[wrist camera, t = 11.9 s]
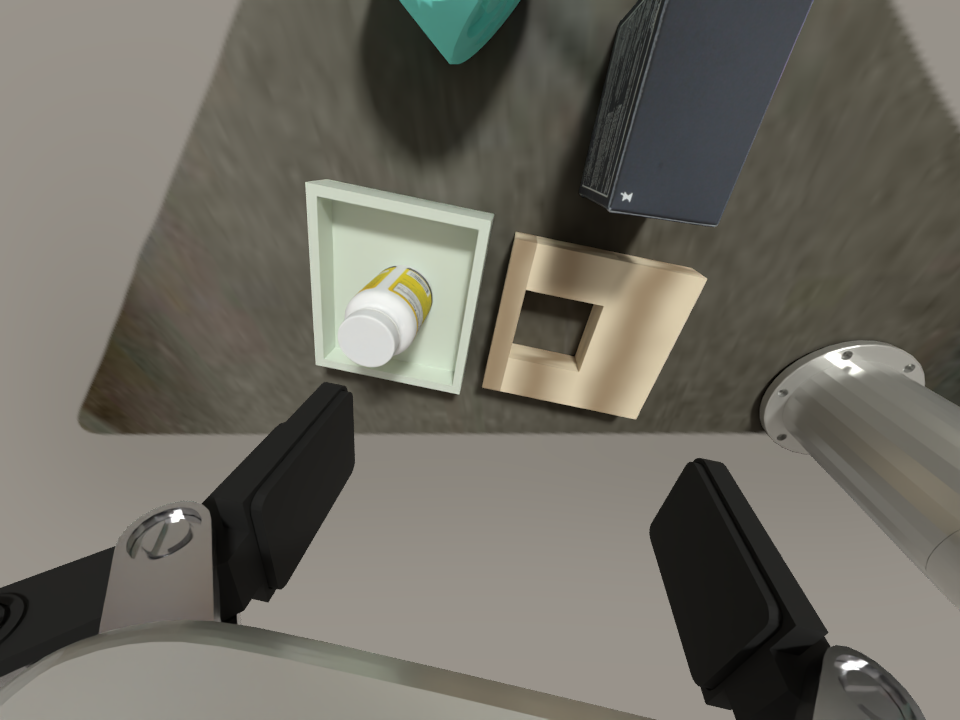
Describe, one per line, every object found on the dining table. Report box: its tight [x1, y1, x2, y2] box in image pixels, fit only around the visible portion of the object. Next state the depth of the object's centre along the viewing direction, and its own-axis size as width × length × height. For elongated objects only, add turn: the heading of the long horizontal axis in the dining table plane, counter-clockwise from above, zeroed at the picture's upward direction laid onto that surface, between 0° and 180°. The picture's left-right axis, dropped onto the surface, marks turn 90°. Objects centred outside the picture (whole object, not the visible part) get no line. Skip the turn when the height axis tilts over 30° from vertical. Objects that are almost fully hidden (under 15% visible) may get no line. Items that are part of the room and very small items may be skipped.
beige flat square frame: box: [482, 232, 707, 419], centre depth 33 cm, size 15×14×3 cm
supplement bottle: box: [338, 265, 433, 367], centre depth 29 cm, size 5×5×10 cm
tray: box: [305, 179, 495, 394], centre depth 32 cm, size 14×16×4 cm
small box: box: [579, 0, 814, 227], centre depth 22 cm, size 11×6×10 cm, turn 173°
